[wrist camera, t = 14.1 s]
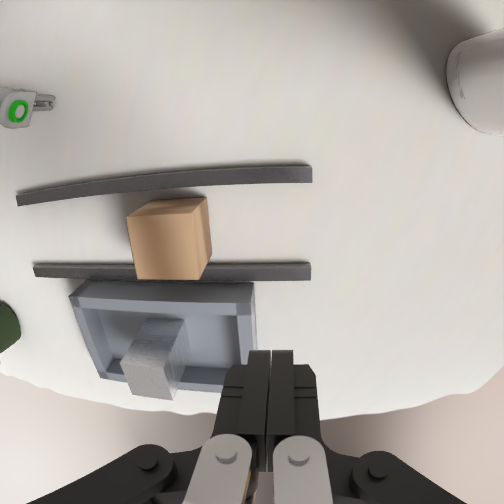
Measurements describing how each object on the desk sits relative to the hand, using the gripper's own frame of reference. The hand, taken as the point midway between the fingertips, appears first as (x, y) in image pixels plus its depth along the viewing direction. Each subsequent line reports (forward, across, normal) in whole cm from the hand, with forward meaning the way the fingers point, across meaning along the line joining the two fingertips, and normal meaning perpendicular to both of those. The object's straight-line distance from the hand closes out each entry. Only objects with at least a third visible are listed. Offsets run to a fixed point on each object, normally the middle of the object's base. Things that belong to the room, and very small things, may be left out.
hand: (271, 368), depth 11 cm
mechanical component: (+17, +21, -14) cm, 30 cm away
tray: (+17, +11, +11) cm, 23 cm away
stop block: (+16, +11, +11) cm, 22 cm away
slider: (+17, +8, 0) cm, 19 cm away
